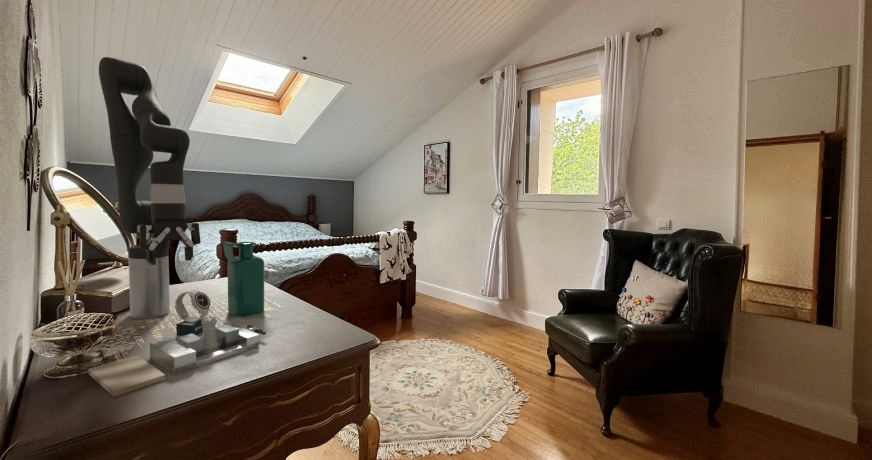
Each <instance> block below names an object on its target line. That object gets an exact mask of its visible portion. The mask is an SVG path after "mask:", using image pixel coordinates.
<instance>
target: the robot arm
mask: <svg viewBox="0 0 872 460" xmlns="http://www.w3.org/2000/svg"><path fill="white" fill-rule="evenodd" d="M98 76H99V77H98V78H99V82H100V87H101V91H102V94H103V99H104V103H105V108H106V112H107V119H108V120H107V122H108V126H109V138H110V144H111V151H112V152H111V153H112V156H113V163H114V168H115V173H116V181H117V182H116V184H117V196H118V197H117V198H118V199H117V200H118V201H117V202H118V214H119V216H118V217H119V222H120V227H121V229H122V230H123V232H125V233H126V234H132V235H135V234H136V236H135V237H136V238H135V239H136V240H135V241H136V242H135V243H136V244H134V245H132V246H130V247H129V248H128V251H127V254H128V255H127V257H128V260H127V261H128V277H129V278H128V285H129V286H128V287H129V289H128V290H129V316H130V318H132V319H135V320H136V319H137V320H145V319H153V318H159V317H162V316H165V315H168V314H169V313H170V309H171V308H170V307H171V306H170V304H171V303H170V271H169V270H170V267H169V266H170V265H169V248H170V241H171V240H174V241H177V240H179V242H181V244H183V245H184V246H185V247H184V249H183V250H184V260H185V261H186V262H187V261H188V262H189V261H192V259H193V258H194V246H196V245H200V244H201V243H202V242H201V232H200V224H199V223H197V222H190V223H187V220H186V218H187V212H186V210H187V209H186V201H187V200H186V193H185V187H184V186H185V185H184V166H185V162H186V157H187V154H188V151H189V149H190V148H189V147H190V142H191V141H190V135H189V134H188V132H187V131H186V130H185V129H184V128H182V127H179V126H178V127H177V126H171V125H172V123H171V120H170V118H169V116H168V114H167V113H166V111H165V110H164V108H163V107H162V105H161V104H160V101H159V99H158V95H157V92H156V89H155V86H154V83H153V79H152V77H151V75H150V73H149V71H148V70H147V69H146V68H145V67H144V66H143V65H140V64H138V63H135V62H131V61H126V60H122V59H120V58H116V57H115V58H114V57H110V56H104V57H102V58H101V59H100V61H99V65H98ZM123 94H124V95H125V94H126V95H129V96H130V95H131V96H137V97H135V98H134V100H133V101H132V104H131V110H130V108H129V107H128V106H127V104H126V102H125V100H124V97H123ZM155 152H156V153H166V154H170V157H169V159H168V160H160V161H159V160H158V161H155V162H153V160H154V153H155ZM149 168H150V169H149ZM148 169H149V170H150V171H149V173H150V191H149V192H150V193H149V195H150V196H149V199H150V200H138V199H137V187H138V185H139V184H140V181H141V179H142V177H143V176H144V174H145V173H146V172H147V170H148ZM187 229H188V230H189V231H190V237H189V236H188V235H187V234H186V233H185V232H186V231H187ZM147 234H150V236H149V237H148V238H147Z"/></svg>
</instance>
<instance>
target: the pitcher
mask: <svg viewBox="0 0 872 460" xmlns="http://www.w3.org/2000/svg"><path fill="white" fill-rule="evenodd" d="M222 245H223V250H224V251H223V253H224V256H225V258H226V260H227V311H228V313H229V314H231V315H234V316H236V317H238V318H243V317H248V316H253V315H258V314H261V313H263V312H264V311H265V261H264V259H263V258H262V257H259V256H256V255H254V248H253V246H256V245H257V243H256V242H254V241H239V242H236V243H234V242H229V241H224V242H223V244H222ZM234 248H239V249H238V250H239V254H238V256H235V255H234V254H235V253H234Z"/></svg>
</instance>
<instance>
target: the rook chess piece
mask: <svg viewBox="0 0 872 460" xmlns="http://www.w3.org/2000/svg"><path fill="white" fill-rule="evenodd" d="M217 322H218V320H217V319H216V316H215V315H210V316H209V317H208V316H205V317H204V318H203V321H202V322H201V324H202V325H203V329H202V330H203V332H202V337H201V338H202V339H203V355H207V354H210V353H213V352H216V351H220V350H221V348H220V347H219V346H220V342H219V341H218V339H217V338H216V332H215V329H216V327H217V326H216V324H217Z"/></svg>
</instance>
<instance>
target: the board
mask: <svg viewBox="0 0 872 460" xmlns="http://www.w3.org/2000/svg"><path fill="white" fill-rule="evenodd" d="M87 372H88V373H87V374H88V375H89V376H90V377H91V378H92V379H93V380H94V381H96V382H97V384H99V385H100V386H101V387H102V388H103V389H104V390H105V391H107V392H108V393H109V394H110V395H111V396H112V397H113V398H114V397H117V396H120V395H124V394H126V393H130V392H132V391H136V390H138V389H140V388H144V387H148V386H149V385H153V384H156V383H160V382H163V381H165V380H166V374H165V373H163V372H162V371H160V370H159V369H158V368H157V367H154V366H153V365H151V364H150V363H149V362H147V361H146V360H144V359H143V358H141V357H140V356H139V355H134V356H131V357H127V358H123V359H120V360H115V361H112V362H108V363H104V364H101V365H98V366H93V367H91V368H88V369H87Z"/></svg>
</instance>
